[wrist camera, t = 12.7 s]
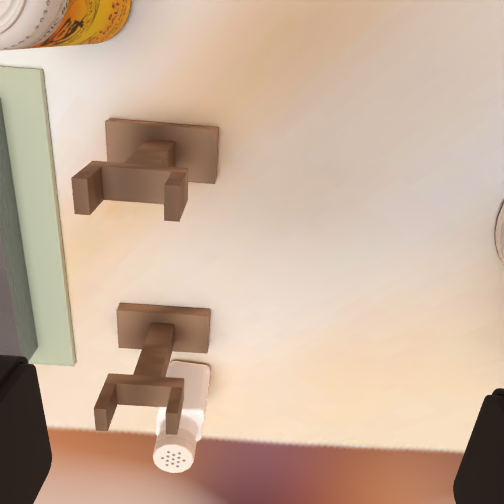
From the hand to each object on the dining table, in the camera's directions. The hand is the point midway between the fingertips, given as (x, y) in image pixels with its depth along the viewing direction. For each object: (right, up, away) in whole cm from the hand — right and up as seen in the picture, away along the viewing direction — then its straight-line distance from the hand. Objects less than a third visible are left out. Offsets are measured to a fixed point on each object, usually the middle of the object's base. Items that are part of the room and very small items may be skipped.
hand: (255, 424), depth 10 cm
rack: (-7, +4, +28) cm, 30 cm away
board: (-20, +5, +28) cm, 35 cm away
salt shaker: (-6, -8, +35) cm, 36 cm away
